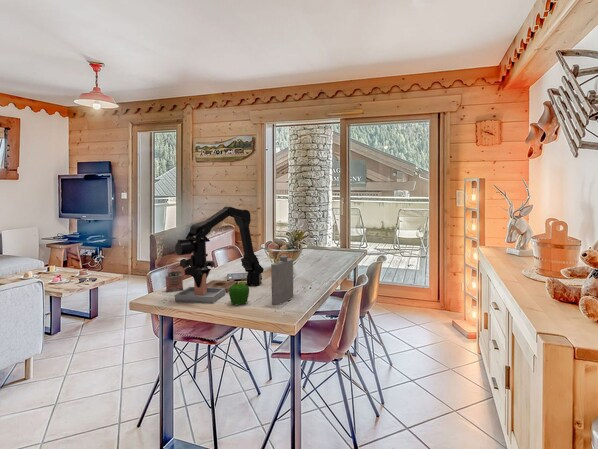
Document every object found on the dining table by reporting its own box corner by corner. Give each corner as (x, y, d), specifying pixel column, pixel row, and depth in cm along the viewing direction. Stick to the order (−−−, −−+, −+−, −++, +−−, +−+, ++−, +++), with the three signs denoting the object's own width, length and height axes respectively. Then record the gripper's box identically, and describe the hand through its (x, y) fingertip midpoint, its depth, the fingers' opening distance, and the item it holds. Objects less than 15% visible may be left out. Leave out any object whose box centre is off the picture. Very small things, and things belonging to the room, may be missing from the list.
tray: (225, 294, 170) (225, 288, 170) (213, 303, 156) (213, 296, 156) (189, 292, 173) (189, 286, 173) (174, 301, 159) (174, 295, 159)
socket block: (237, 284, 187) (237, 281, 186) (227, 292, 173) (227, 288, 173) (212, 283, 189) (212, 280, 189) (200, 291, 175) (200, 287, 175)
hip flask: (288, 294, 169) (288, 252, 167) (296, 295, 167) (295, 253, 165) (270, 304, 155) (269, 258, 153) (278, 305, 153) (278, 259, 151)
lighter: (166, 292, 173) (165, 272, 172) (165, 291, 176) (164, 270, 175) (183, 290, 177) (183, 270, 176) (182, 288, 180) (181, 269, 179)
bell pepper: (225, 303, 156) (224, 281, 155) (240, 299, 162) (239, 277, 161) (237, 308, 150) (237, 284, 149) (252, 303, 156) (252, 280, 156)
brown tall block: (206, 292, 166) (206, 273, 165) (203, 295, 162) (202, 275, 161) (198, 292, 167) (198, 273, 166) (194, 294, 163) (194, 275, 162)
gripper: (192, 248, 173) (193, 280, 175) (172, 255, 155) (173, 291, 156) (214, 249, 171) (215, 281, 173) (196, 256, 153) (197, 292, 154)
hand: (200, 286), depth 164 cm, fingers closed on brown tall block, 4 cm apart
